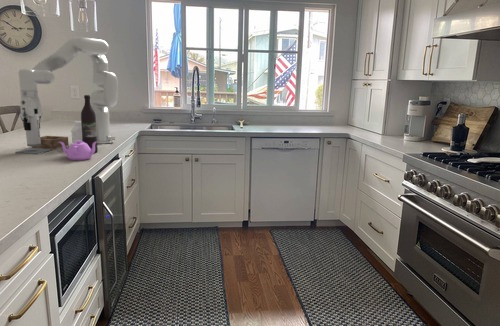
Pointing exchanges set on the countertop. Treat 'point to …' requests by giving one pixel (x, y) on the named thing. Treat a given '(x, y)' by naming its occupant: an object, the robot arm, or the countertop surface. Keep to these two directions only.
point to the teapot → (79, 150)
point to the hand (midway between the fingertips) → (32, 129)
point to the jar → (77, 132)
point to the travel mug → (33, 131)
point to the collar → (52, 142)
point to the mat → (34, 150)
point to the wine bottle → (88, 124)
